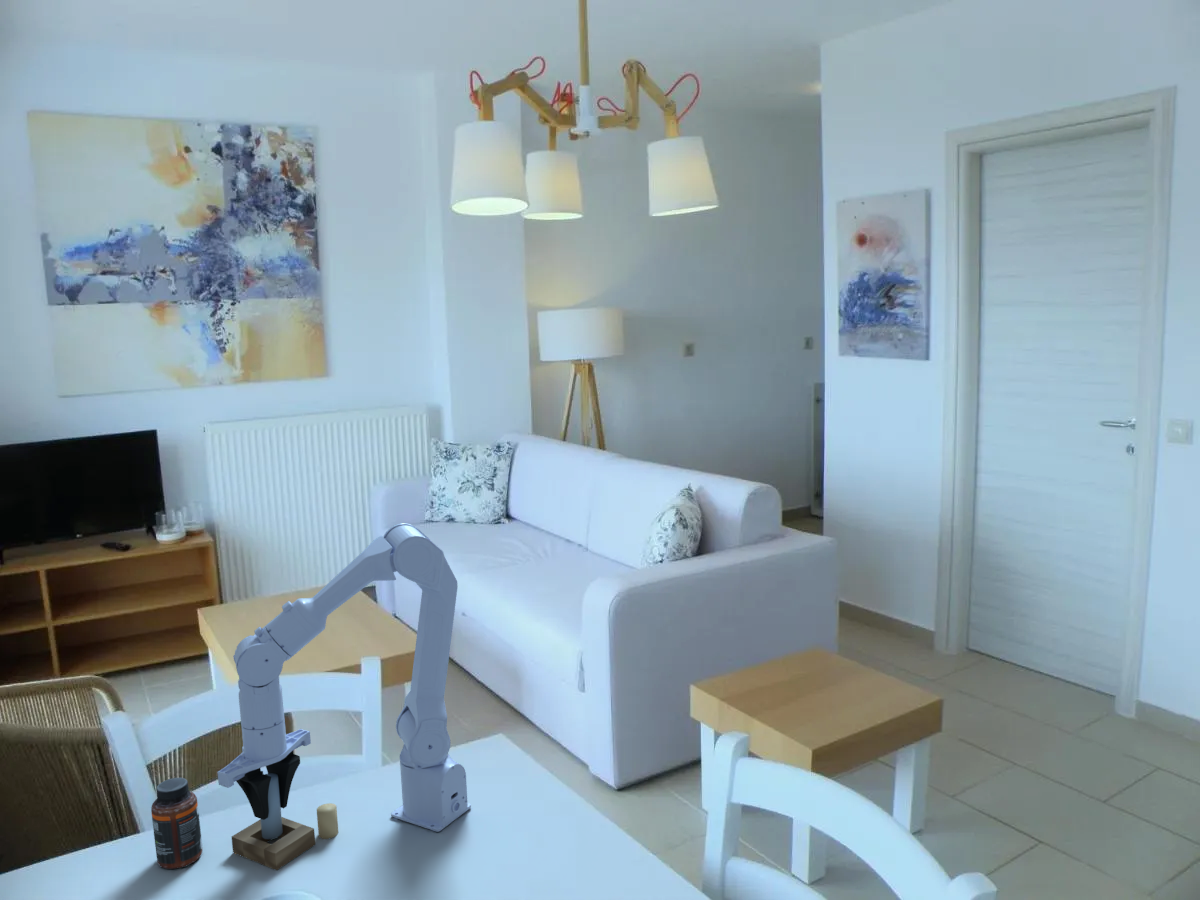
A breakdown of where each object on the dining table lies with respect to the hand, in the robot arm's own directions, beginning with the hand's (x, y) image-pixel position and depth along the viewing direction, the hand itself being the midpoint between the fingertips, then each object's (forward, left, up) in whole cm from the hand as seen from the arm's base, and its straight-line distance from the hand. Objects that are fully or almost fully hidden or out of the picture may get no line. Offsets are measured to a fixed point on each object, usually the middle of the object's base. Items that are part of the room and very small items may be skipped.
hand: (270, 811), depth 134 cm
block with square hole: (0, 0, -6) cm, 6 cm away
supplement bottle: (+10, +8, -6) cm, 14 cm away
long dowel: (0, 0, -3) cm, 4 cm away
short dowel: (-4, -7, -6) cm, 10 cm away
